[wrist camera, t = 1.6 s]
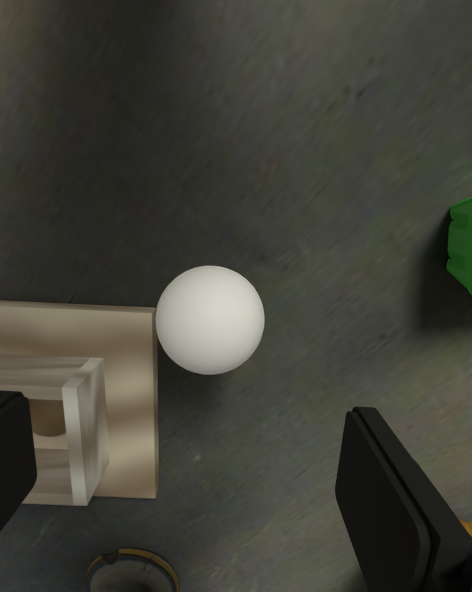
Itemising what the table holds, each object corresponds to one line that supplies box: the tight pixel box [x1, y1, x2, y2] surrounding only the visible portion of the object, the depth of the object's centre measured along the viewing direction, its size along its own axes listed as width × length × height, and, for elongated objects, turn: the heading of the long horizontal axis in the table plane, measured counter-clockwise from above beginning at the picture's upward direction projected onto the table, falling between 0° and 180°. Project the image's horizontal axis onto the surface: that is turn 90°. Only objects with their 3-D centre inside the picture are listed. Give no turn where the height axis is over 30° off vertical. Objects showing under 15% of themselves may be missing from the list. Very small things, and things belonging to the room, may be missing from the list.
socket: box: [0, 300, 159, 506], centre depth 26 cm, size 18×18×6 cm
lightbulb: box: [155, 266, 265, 375], centre depth 21 cm, size 6×6×11 cm
